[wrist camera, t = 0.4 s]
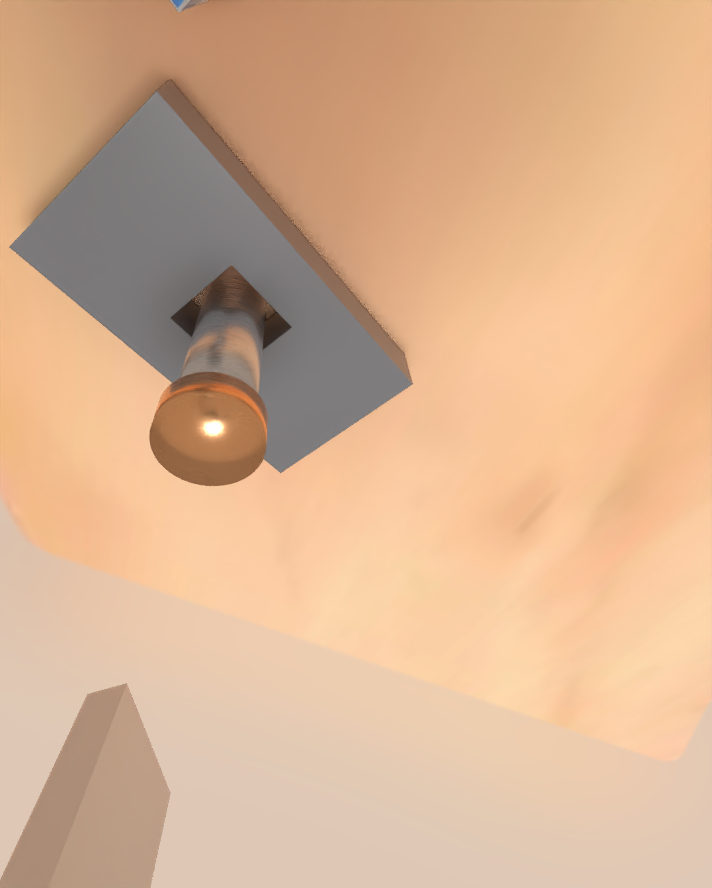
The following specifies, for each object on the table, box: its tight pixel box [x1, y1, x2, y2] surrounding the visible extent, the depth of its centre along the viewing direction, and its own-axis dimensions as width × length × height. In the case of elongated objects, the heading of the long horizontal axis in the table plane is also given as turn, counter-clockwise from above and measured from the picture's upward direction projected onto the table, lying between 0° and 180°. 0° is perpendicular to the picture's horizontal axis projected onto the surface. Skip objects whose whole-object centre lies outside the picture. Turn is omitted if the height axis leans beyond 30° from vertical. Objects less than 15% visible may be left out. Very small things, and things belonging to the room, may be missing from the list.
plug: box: [150, 266, 268, 486], centre depth 33 cm, size 5×5×16 cm
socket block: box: [10, 79, 413, 473], centre depth 38 cm, size 22×12×4 cm, turn 38°
